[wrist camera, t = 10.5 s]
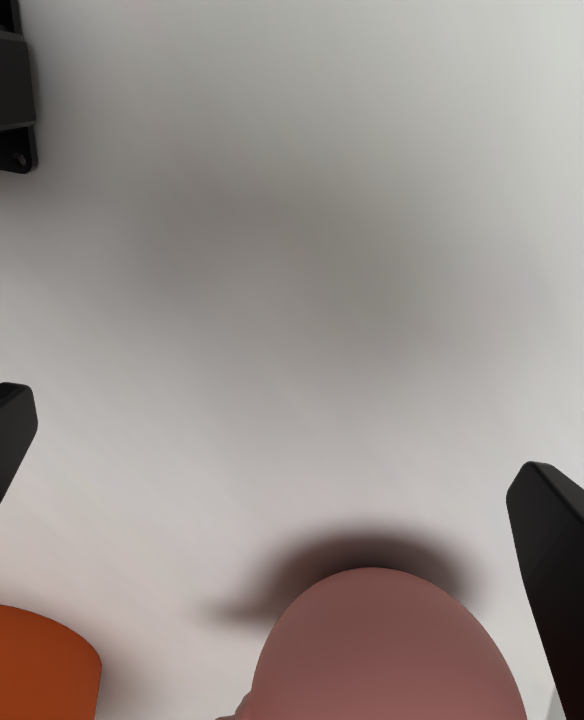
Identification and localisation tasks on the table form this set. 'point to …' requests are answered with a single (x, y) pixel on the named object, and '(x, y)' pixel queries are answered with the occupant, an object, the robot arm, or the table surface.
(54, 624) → the flowerpot
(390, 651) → the balloon
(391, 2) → the table surface
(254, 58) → the table surface
